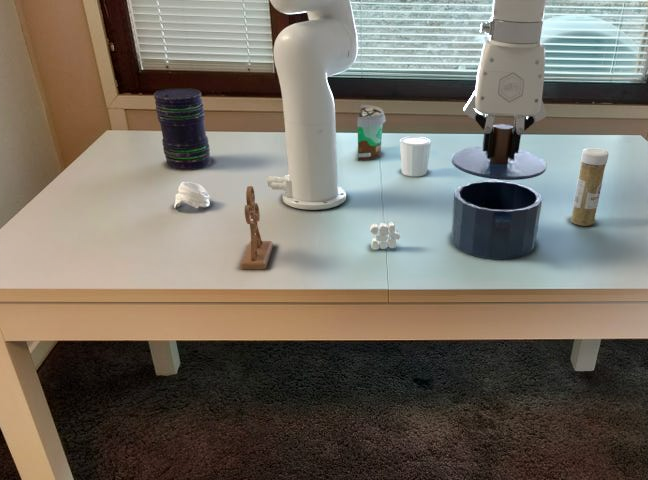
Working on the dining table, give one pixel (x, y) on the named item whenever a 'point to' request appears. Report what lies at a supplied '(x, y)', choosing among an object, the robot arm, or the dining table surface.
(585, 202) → the sprinkles bottle
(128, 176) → the dining table surface
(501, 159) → the pot lid
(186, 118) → the storage jar
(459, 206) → the pot
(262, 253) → the brown upright openwork piece
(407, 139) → the white cup
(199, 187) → the whipped cream
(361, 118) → the food container
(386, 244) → the white marshmallow cluster
